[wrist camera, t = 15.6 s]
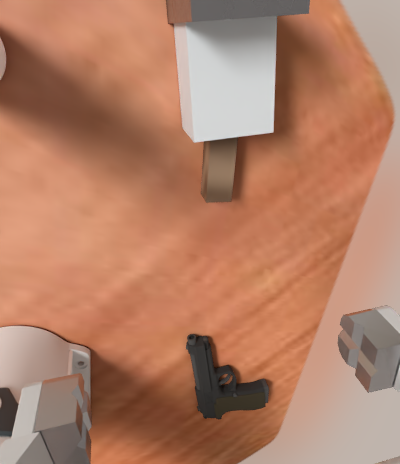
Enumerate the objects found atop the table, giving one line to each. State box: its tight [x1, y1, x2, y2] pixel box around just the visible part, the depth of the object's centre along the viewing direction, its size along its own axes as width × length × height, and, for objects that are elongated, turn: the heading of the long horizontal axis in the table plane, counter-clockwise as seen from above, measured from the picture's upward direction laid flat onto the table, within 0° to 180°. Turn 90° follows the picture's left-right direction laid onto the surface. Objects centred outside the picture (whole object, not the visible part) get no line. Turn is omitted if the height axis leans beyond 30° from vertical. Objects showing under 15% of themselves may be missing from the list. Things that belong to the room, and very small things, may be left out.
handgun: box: [186, 334, 269, 419], centre depth 60 cm, size 3×19×12 cm
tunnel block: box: [174, 16, 277, 142], centre depth 37 cm, size 10×8×6 cm
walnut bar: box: [201, 137, 238, 202], centre depth 42 cm, size 14×3×3 cm, turn 177°
